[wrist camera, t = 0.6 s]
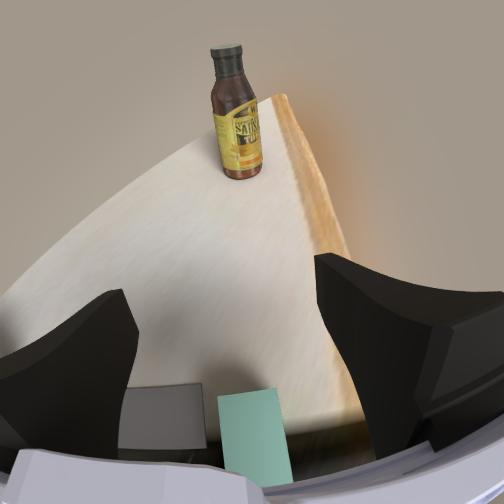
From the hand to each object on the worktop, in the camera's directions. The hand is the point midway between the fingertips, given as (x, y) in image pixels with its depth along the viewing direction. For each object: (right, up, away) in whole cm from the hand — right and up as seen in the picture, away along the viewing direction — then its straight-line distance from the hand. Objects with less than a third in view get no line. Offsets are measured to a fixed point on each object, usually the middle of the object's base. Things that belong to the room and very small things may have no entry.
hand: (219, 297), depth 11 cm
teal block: (+2, -14, +10) cm, 17 cm away
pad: (-7, -13, +12) cm, 19 cm away
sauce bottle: (0, +14, +36) cm, 39 cm away
